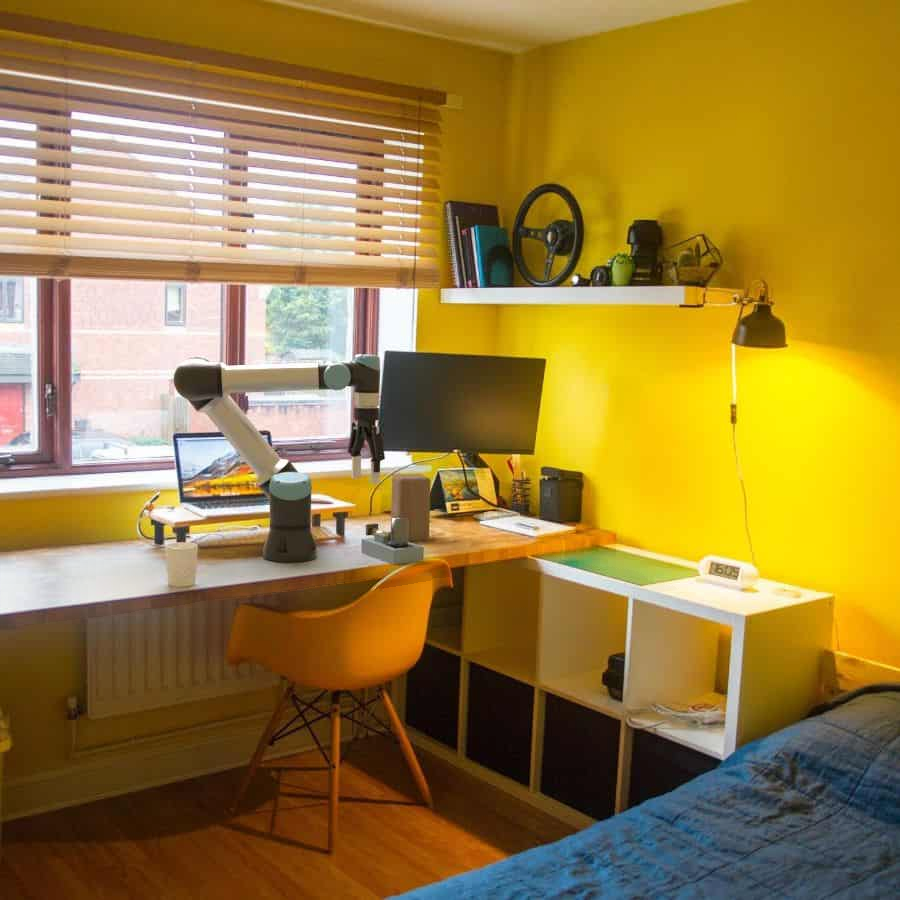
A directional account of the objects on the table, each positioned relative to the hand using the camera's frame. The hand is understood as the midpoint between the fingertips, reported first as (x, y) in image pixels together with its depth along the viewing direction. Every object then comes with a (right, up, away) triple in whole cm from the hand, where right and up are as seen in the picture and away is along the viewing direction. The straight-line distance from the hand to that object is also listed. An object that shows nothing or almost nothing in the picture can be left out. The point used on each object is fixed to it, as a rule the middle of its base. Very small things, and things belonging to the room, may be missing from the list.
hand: (365, 480), depth 327 cm
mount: (+8, -22, -11) cm, 26 cm away
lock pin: (+4, -17, -5) cm, 18 cm away
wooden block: (+13, -19, +15) cm, 27 cm away
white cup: (-43, -25, -49) cm, 70 cm away
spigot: (+11, -22, -14) cm, 28 cm away
